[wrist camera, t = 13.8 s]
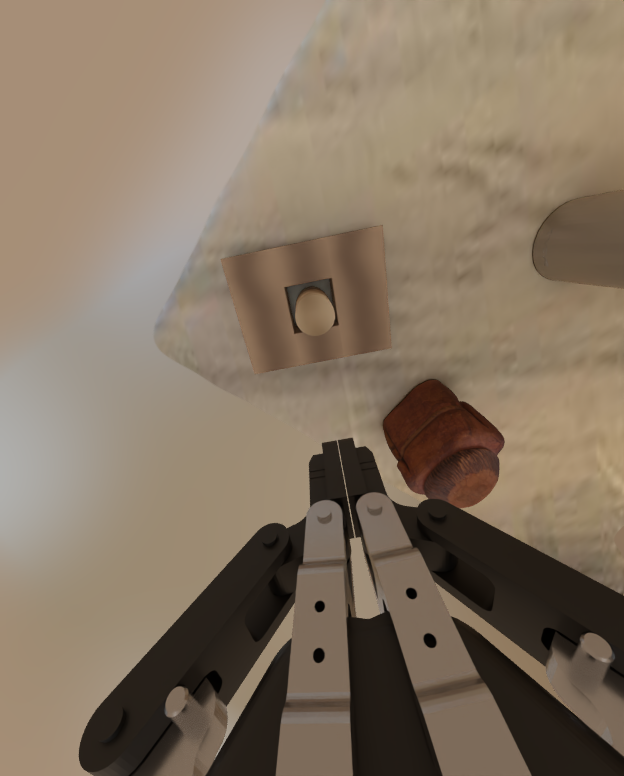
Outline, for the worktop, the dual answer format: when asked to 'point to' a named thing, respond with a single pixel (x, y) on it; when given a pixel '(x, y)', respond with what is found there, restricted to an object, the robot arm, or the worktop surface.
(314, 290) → the beech peg
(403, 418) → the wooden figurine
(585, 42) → the worktop surface
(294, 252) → the wooden board with hole
